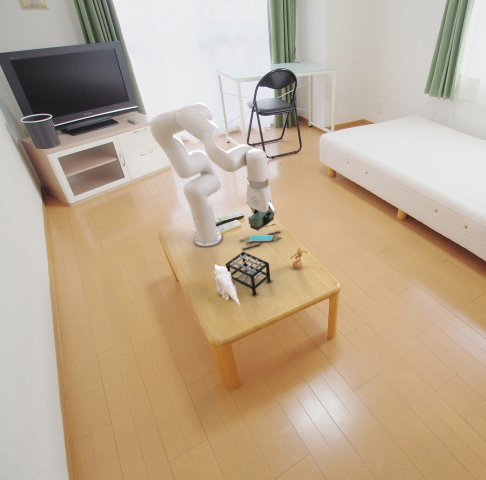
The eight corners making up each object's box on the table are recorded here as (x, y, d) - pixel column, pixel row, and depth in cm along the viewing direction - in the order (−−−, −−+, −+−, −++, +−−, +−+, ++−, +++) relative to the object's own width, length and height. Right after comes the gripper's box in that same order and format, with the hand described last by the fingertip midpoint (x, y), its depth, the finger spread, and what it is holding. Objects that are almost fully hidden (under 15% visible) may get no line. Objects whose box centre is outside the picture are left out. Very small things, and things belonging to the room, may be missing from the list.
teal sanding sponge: (257, 231, 137) (256, 220, 134) (249, 227, 138) (248, 217, 136) (274, 219, 144) (274, 209, 141) (266, 216, 146) (265, 206, 143)
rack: (229, 282, 140) (225, 263, 134) (245, 269, 147) (242, 251, 141) (254, 295, 134) (252, 276, 128) (270, 281, 141) (268, 262, 135)
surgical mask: (277, 222, 170) (284, 232, 163) (277, 230, 173) (284, 239, 165) (237, 232, 162) (242, 243, 155) (238, 240, 165) (244, 250, 158)
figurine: (303, 262, 151) (302, 240, 144) (310, 269, 147) (310, 247, 140) (286, 268, 148) (285, 246, 141) (293, 276, 144) (292, 253, 137)
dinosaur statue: (226, 276, 143) (222, 255, 136) (250, 311, 127) (247, 290, 120) (210, 282, 140) (205, 261, 133) (233, 319, 124) (228, 297, 117)
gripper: (235, 180, 131) (240, 220, 142) (269, 191, 124) (272, 232, 135) (248, 173, 136) (252, 212, 147) (281, 184, 129) (283, 224, 140)
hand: (262, 221), depth 141 cm, fingers closed on teal sanding sponge, 4 cm apart
